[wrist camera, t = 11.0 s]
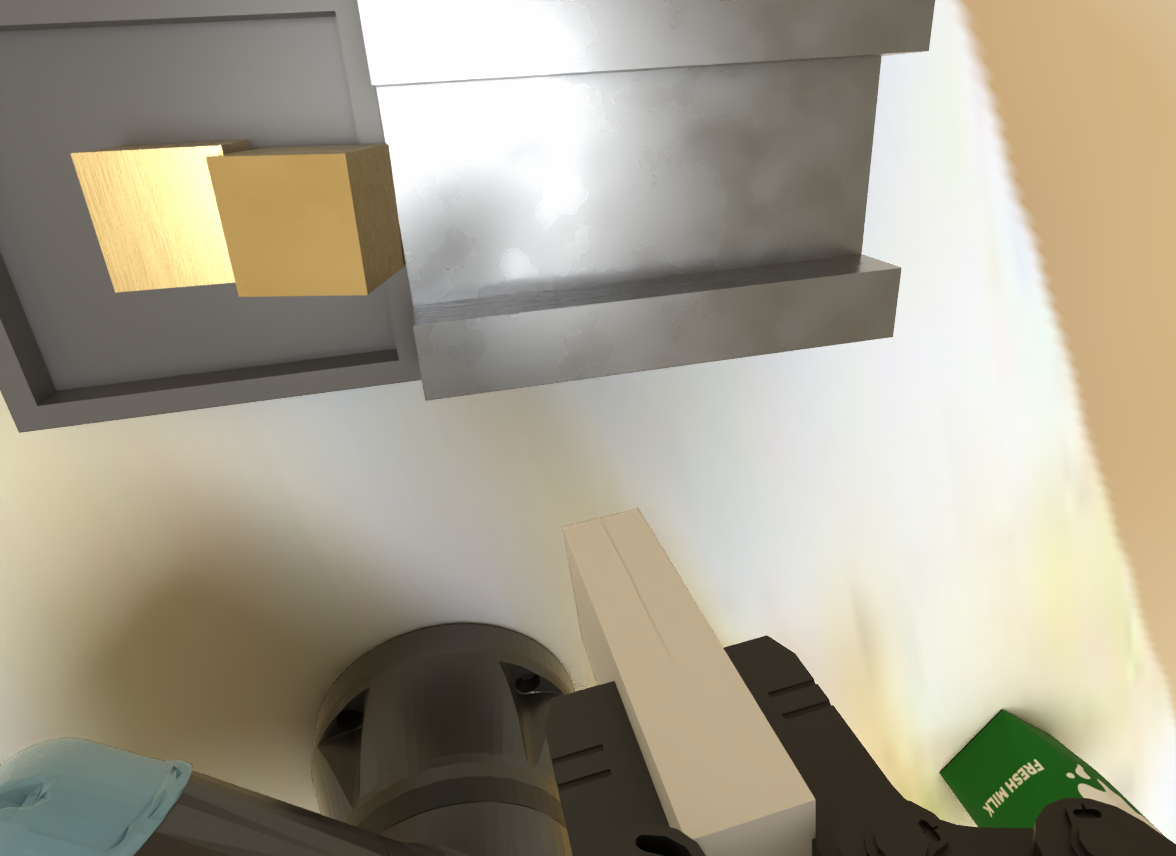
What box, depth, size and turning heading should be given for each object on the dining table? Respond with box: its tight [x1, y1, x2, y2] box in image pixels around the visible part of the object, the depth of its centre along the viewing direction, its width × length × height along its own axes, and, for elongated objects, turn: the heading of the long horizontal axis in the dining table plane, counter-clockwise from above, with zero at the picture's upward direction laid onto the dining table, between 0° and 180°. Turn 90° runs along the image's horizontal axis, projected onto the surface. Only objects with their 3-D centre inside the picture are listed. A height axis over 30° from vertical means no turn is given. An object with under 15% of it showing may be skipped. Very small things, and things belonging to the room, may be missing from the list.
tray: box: [0, 0, 422, 433], centre depth 28 cm, size 16×15×2 cm
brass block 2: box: [206, 144, 405, 297], centre depth 25 cm, size 4×4×4 cm
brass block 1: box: [70, 139, 252, 293], centre depth 26 cm, size 4×4×4 cm
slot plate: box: [357, 0, 935, 400], centre depth 29 cm, size 20×14×6 cm
